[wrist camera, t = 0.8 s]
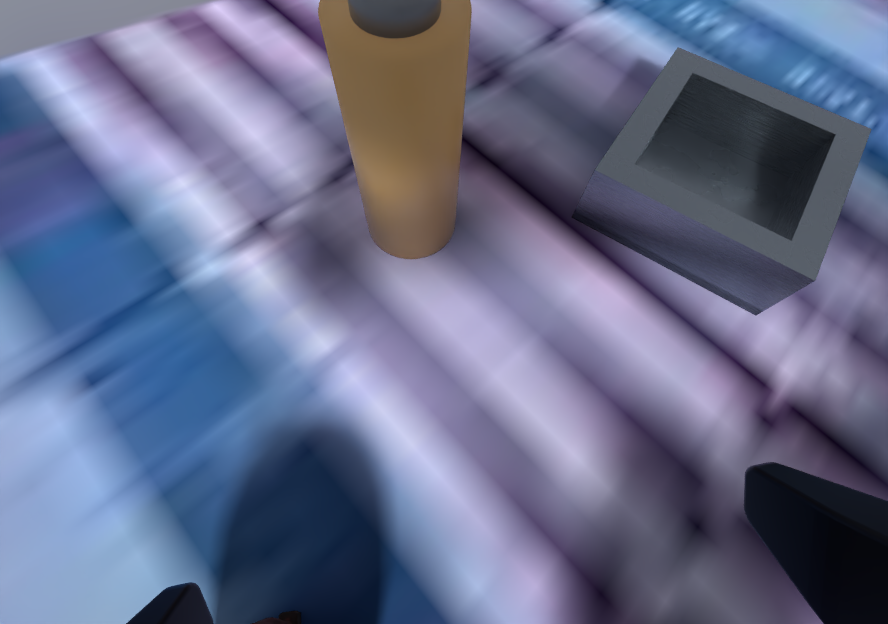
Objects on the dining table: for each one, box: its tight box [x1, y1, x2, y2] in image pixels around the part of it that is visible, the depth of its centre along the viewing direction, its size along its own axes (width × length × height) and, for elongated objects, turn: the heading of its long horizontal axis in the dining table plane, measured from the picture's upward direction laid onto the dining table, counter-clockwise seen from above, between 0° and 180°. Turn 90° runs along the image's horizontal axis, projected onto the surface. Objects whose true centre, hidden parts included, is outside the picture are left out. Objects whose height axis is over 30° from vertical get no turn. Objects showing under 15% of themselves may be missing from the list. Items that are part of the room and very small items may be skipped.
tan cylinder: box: [318, 0, 472, 259], centre depth 20 cm, size 5×5×13 cm
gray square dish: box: [572, 48, 871, 315], centre depth 25 cm, size 11×11×4 cm
